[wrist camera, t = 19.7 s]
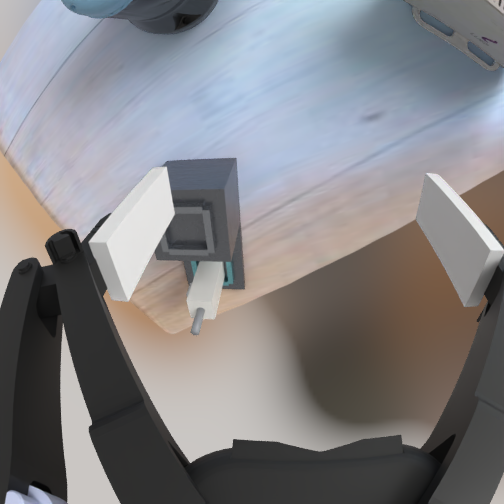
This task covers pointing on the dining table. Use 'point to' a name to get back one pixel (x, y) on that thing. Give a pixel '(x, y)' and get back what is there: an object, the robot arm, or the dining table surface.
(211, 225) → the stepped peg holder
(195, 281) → the plug
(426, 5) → the network device
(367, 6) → the dining table surface
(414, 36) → the dining table surface
